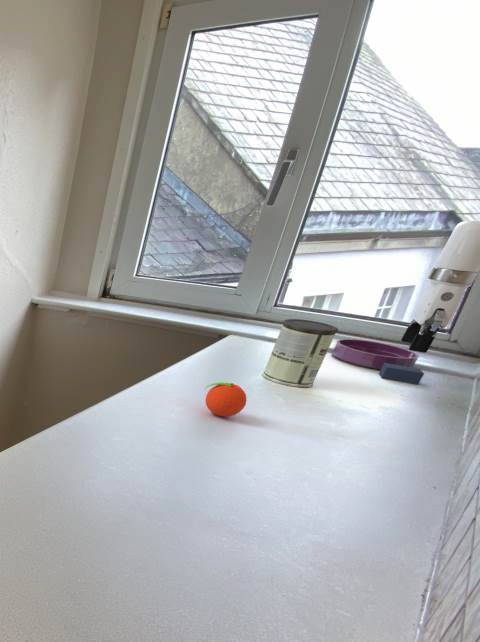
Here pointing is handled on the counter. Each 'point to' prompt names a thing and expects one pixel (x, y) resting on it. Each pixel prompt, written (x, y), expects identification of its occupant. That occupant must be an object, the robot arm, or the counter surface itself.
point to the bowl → (372, 353)
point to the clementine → (225, 399)
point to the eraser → (401, 373)
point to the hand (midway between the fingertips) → (412, 346)
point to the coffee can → (299, 352)
